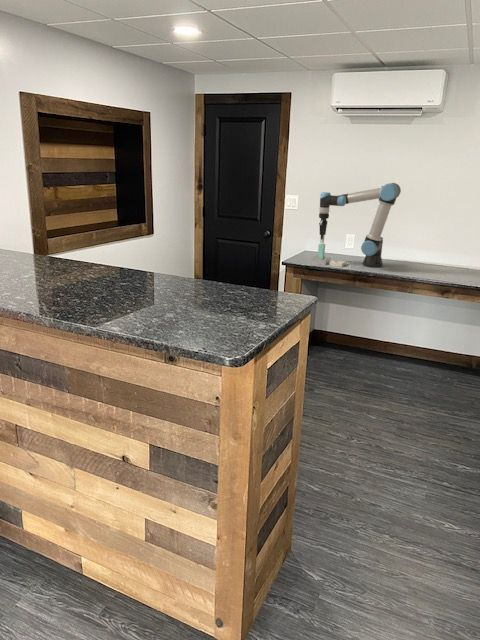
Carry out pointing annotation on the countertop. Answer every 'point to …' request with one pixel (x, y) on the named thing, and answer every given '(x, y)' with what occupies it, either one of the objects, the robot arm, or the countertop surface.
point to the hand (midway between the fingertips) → (322, 243)
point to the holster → (337, 263)
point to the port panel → (320, 260)
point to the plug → (321, 251)
